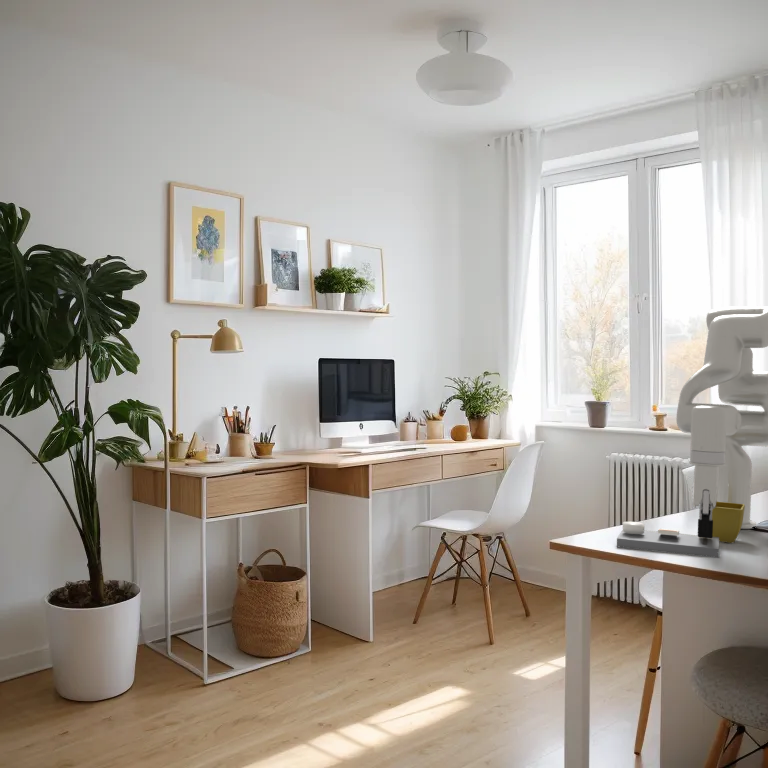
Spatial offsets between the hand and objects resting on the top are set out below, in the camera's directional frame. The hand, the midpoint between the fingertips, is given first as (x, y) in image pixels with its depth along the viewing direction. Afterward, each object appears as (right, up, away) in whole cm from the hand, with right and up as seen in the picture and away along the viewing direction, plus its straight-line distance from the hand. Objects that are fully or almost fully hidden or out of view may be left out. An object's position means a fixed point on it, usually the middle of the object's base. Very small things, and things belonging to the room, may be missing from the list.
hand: (705, 536), depth 180 cm
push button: (-15, 0, +6) cm, 16 cm away
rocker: (-7, 0, +3) cm, 8 cm away
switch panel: (-7, -3, +3) cm, 9 cm away
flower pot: (+9, -3, +11) cm, 15 cm away
